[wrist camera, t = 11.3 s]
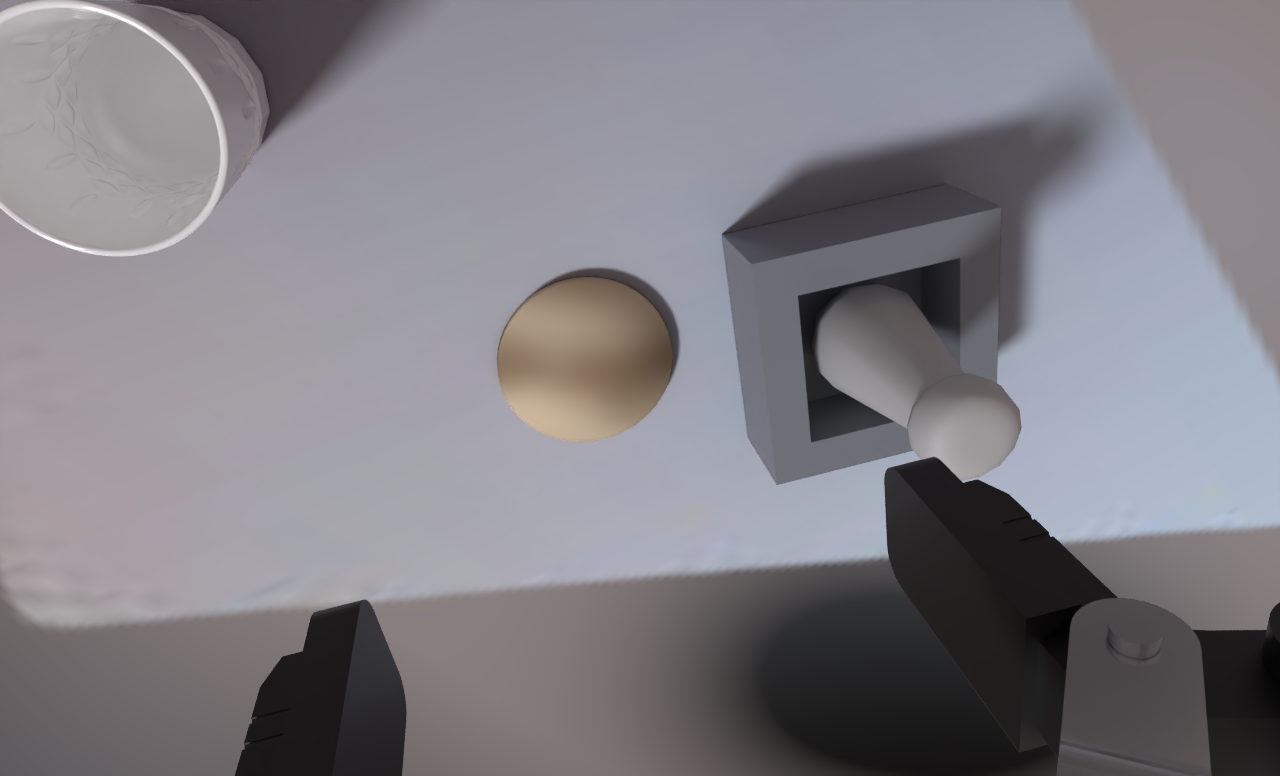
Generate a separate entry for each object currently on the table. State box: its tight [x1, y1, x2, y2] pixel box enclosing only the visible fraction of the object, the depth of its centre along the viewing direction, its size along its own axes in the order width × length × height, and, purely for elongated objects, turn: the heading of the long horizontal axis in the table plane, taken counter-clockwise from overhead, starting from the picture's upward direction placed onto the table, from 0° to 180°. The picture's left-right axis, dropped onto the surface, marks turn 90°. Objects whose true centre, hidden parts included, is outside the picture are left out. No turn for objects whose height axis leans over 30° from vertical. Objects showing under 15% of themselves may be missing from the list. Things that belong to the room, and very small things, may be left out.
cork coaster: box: [497, 277, 673, 442], centre depth 44 cm, size 9×9×1 cm
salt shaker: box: [811, 284, 1022, 480], centre depth 39 cm, size 6×6×13 cm
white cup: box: [0, 0, 270, 256], centre depth 31 cm, size 8×8×10 cm
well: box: [722, 184, 1001, 485], centre depth 44 cm, size 12×12×5 cm
